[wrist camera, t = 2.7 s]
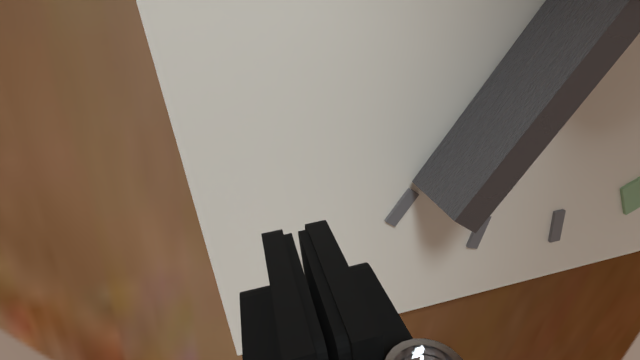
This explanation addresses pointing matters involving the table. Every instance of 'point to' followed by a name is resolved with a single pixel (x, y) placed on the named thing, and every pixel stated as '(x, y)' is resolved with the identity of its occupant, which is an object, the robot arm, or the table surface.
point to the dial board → (380, 141)
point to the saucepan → (526, 104)
